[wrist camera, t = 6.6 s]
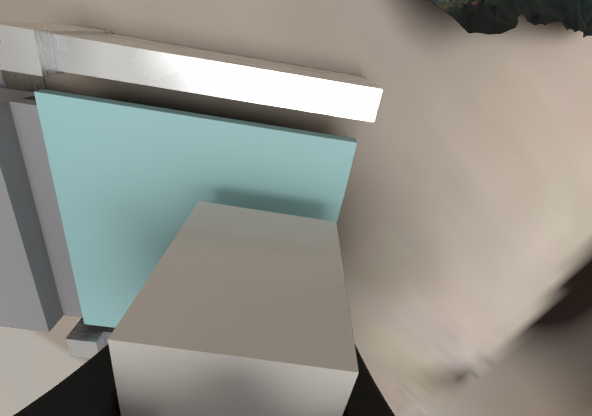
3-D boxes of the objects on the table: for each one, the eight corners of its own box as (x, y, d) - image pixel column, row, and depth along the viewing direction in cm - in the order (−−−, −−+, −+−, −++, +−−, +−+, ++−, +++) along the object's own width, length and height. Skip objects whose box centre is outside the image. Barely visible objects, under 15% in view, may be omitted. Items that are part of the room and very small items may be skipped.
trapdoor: (304, 326, 20) (305, 368, 17) (-6, 287, 19) (-53, 326, 16) (351, 131, 14) (361, 151, 11) (-91, 60, 13) (-184, 66, 10)
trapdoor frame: (306, 319, 23) (307, 383, 19) (61, 287, 22) (3, 348, 18) (364, 74, 15) (388, 90, 11) (-7, 11, 14) (-137, 1, 10)
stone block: (304, 349, 15) (302, 518, 10) (197, 335, 15) (135, 500, 10) (336, 221, 12) (359, 372, 7) (199, 201, 12) (107, 339, 6)
